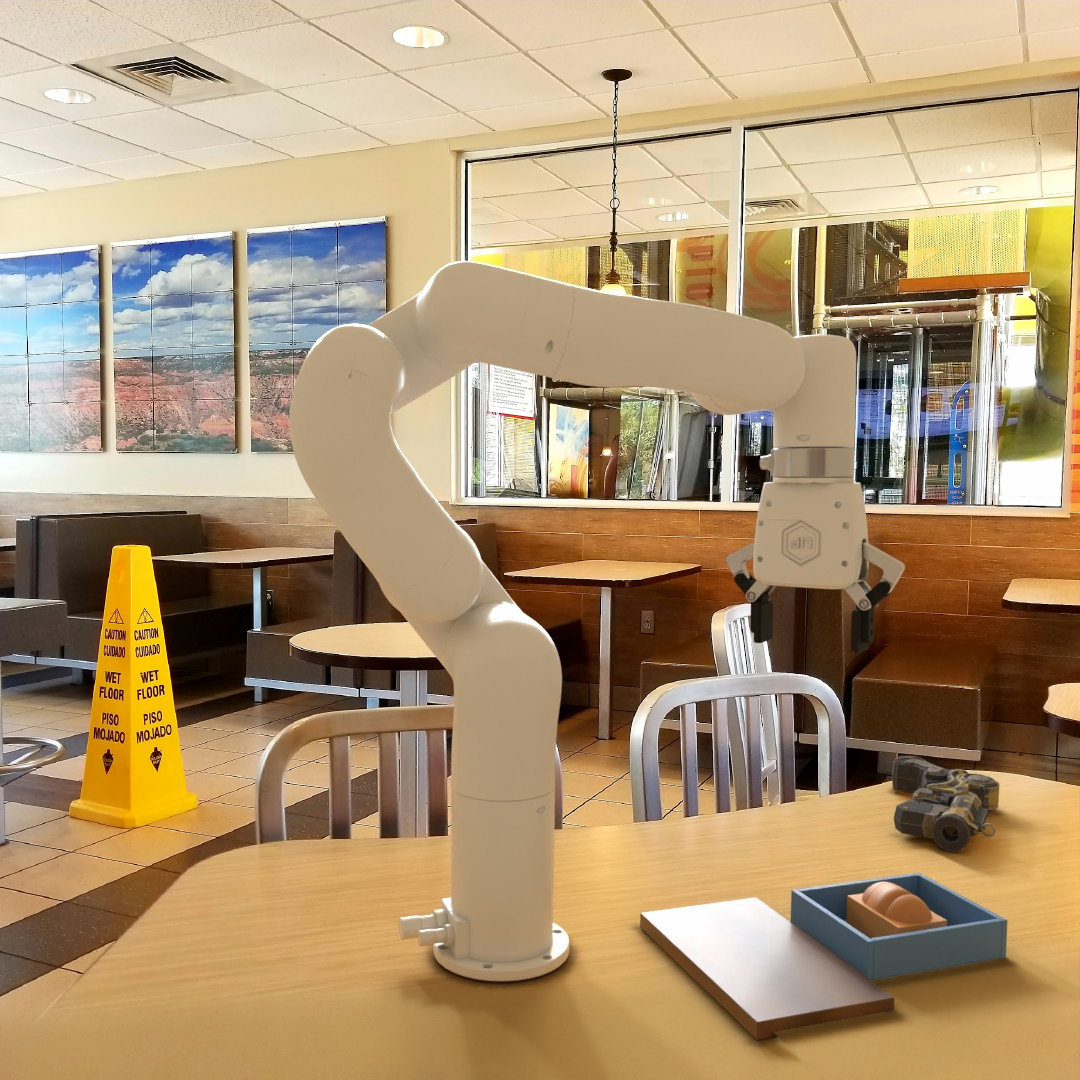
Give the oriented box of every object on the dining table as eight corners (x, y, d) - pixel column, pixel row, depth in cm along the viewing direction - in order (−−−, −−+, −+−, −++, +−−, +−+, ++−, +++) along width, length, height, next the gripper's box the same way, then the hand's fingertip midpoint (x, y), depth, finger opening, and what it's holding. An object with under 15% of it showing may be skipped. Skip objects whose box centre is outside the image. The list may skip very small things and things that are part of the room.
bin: (867, 986, 94) (868, 941, 93) (790, 929, 105) (791, 889, 105) (1006, 962, 99) (1007, 919, 98) (918, 910, 110) (919, 872, 110)
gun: (861, 799, 132) (993, 821, 125) (897, 752, 154) (1010, 768, 148) (859, 837, 132) (990, 860, 125) (895, 784, 155) (1008, 801, 148)
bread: (897, 962, 97) (899, 908, 97) (846, 927, 105) (847, 877, 104) (946, 953, 99) (948, 901, 99) (892, 920, 106) (893, 871, 106)
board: (756, 1040, 84) (757, 1022, 84) (639, 927, 105) (640, 912, 105) (894, 1015, 89) (895, 997, 89) (756, 911, 109) (756, 896, 109)
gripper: (712, 468, 104) (711, 643, 105) (893, 467, 94) (889, 660, 95) (744, 467, 110) (743, 633, 111) (917, 467, 100) (913, 649, 101)
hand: (810, 645), depth 103 cm, fingers open, 9 cm apart
